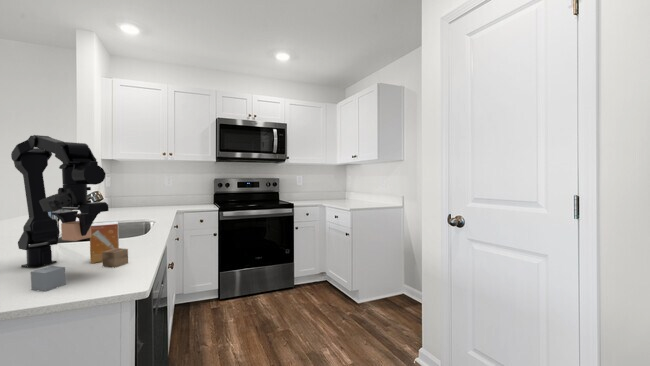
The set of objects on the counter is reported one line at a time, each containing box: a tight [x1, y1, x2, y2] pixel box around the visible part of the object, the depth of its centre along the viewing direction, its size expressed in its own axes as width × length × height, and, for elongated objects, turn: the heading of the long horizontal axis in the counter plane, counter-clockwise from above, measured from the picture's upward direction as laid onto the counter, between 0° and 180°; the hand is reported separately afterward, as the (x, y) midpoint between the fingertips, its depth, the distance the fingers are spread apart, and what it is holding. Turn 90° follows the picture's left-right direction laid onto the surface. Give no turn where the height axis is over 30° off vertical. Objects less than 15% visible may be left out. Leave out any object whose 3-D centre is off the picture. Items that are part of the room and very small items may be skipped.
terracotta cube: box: [60, 220, 92, 242], centre depth 92 cm, size 5×5×5 cm
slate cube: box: [30, 265, 67, 293], centre depth 82 cm, size 5×5×5 cm
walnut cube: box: [102, 247, 129, 269], centre depth 102 cm, size 5×5×5 cm
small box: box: [89, 220, 120, 264], centre depth 108 cm, size 8×6×13 cm
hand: (76, 235), depth 92 cm, fingers closed on terracotta cube, 5 cm apart
